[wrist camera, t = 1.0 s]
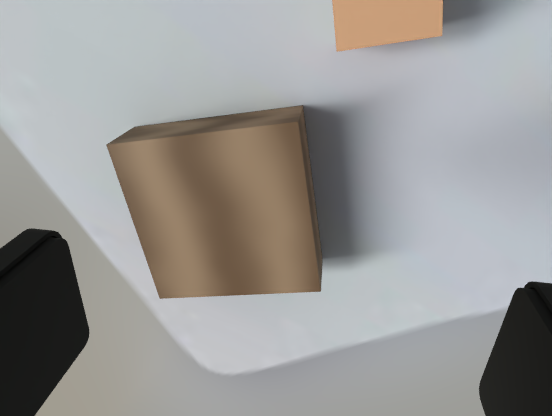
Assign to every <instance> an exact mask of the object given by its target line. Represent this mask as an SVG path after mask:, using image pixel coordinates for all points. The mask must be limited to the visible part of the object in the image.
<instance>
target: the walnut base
mask: <svg viewBox="0 0 552 416" xmlns="http://www.w3.org/2000/svg"><path fill="white" fill-rule="evenodd" d="M107 148H108V151H109V154H110V157H111V159H112V162H113V165H114V168H115V171H116V174H117V177H118V180H119V182H120V185H121V188H122V191H123V194H124V197H125V200H126V203H127V205H128V208H129V211H130V214H131V217H132V220H133V223H134V226H135V228H136V231H137V234H138V237H139V240H140V243H141V246H142V249H143V251H144V254H145V257H146V260H147V263H148V266H149V269H150V272H151V274H152V277H153V280H154V283H155V286H156V289H157V292H158V295H159V297H160V299H161V298H184V297H206V296H229V295H252V294H274V293H297V292H320V291H321V277H322V252H321V244H320V236H319V228H318V220H317V212H316V204H315V197H314V189H313V181H312V173H311V165H310V157H309V149H308V141H307V133H306V126H305V118H304V110H303V105H302V106H294V107H286V108H278V109H271V110H263V111H255V112H247V113H239V114H232V115H224V116H216V117H208V118H200V119H193V120H185V121H177V122H169V123H161V124H154V125H146V126H138V127H134V128H132V129H130V130H129V131H127V132H126V133H124V134H123V135H121V136H119V137H118V138H116V139H115V140H113V141H112V142H110V143H108V144H107Z"/></svg>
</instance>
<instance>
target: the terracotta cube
mask: <svg viewBox="0 0 552 416" xmlns="http://www.w3.org/2000/svg"><path fill="white" fill-rule="evenodd" d="M332 2H333V14H334V25H335V37H336V49H337V51H344V50H351V49H357V48H364V47H371V46H377V45H384V44H391V43H397V42H404V41H411V40H417V39H424V38H431V37H437V36H442V20H443V0H332Z"/></svg>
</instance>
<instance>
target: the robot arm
mask: <svg viewBox="0 0 552 416" xmlns="http://www.w3.org/2000/svg"><path fill="white" fill-rule="evenodd" d="M88 338H89V327H88V323H87V319H86V315H85V310H84V306H83V303H82V298H81V295H80V290H79V286H78V282H77V278H76V274H75V270H74V266H73V262H72V258H71V254H70V250H69V246H68V243H67V241H66V240H65V239H63V238H62V237H61V235H60V234H59V233H58V232H56V231H51V230H40V229H27V230H25V231H23V232H22V233H21V234H19V235H18V236H17V237H16V238H14V239H13V240H11V241H10V242H9V243H7V244H6V245H5V246H3V247H2V248H1V249H0V416H35V414H36V413H37V411H38V410H39V409H40V407H41V406H42V405H43V403H44V402H45V400H46V399H47V398H48V396H49V395H50V394H51V392H52V391H53V389H54V388H55V387H56V385H57V384H58V382H59V381H60V380H61V379H62V377H63V375H64V374H65V373H66V372H67V370H68V369H69V368H70V366H71V365H72V363H73V362H74V361H75V359H76V358H77V357H78V355H79V354H80V352H81V351H82V349H83V348H84V347H85V345H86V343H87V341H88ZM479 394H480V400H481V403H482V406H483V409H484V412H485V415H486V416H552V284H551V283H542V282H528V283H527V284H526V285H525V287H524V288H518V289H517V290H516V291H515V292H514V295H513V297H512V300H511V302H510V305H509V308H508V310H507V313H506V316H505V318H504V321H503V323H502V326H501V329H500V332H499V334H498V337H497V339H496V342H495V345H494V347H493V350H492V352H491V355H490V357H489V360H488V363H487V365H486V368H485V370H484V373H483V376H482V379H481V381H480V386H479Z"/></svg>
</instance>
